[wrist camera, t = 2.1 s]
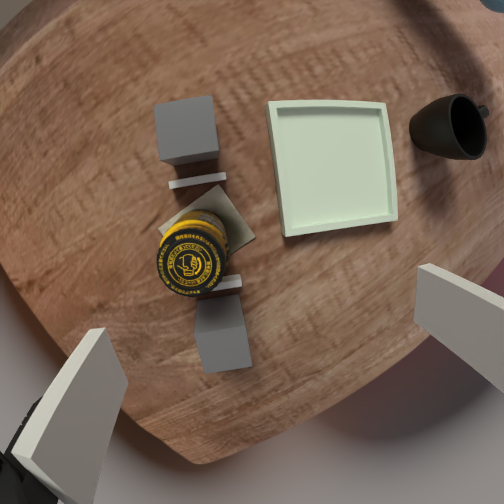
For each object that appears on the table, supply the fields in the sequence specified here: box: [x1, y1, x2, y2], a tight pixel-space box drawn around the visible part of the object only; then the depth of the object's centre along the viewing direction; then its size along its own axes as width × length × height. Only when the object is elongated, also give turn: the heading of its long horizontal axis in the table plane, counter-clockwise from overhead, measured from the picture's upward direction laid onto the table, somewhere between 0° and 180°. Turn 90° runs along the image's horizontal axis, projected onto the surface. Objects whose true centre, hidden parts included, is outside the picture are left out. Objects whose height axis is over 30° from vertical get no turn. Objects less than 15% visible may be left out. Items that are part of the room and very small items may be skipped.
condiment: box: [157, 184, 256, 297], centre depth 26 cm, size 7×8×12 cm
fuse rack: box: [154, 95, 252, 373], centre depth 28 cm, size 29×6×8 cm, turn 8°
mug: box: [409, 94, 489, 160], centre depth 27 cm, size 8×12×10 cm
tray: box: [265, 100, 398, 237], centre depth 31 cm, size 15×15×2 cm
